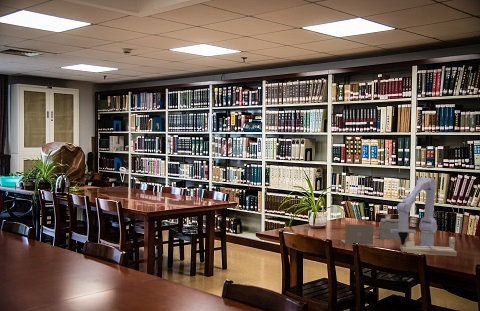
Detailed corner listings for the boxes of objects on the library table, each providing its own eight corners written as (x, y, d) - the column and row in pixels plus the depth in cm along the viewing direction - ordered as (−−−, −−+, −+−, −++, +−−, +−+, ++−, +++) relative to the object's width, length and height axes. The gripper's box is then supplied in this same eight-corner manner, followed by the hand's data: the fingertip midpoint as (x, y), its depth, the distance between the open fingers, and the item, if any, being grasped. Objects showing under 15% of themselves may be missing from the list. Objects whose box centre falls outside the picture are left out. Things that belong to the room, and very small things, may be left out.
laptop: (367, 241, 340) (367, 221, 340) (372, 245, 328) (373, 225, 328) (340, 240, 340) (341, 221, 339) (345, 244, 327) (345, 224, 327)
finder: (404, 245, 315) (404, 239, 315) (412, 245, 314) (412, 240, 314) (405, 246, 310) (406, 241, 310) (414, 247, 309) (414, 241, 309)
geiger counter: (407, 218, 351) (371, 217, 350) (410, 219, 344) (374, 219, 343) (406, 238, 351) (370, 238, 350) (410, 240, 345) (373, 239, 344)
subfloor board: (399, 249, 316) (400, 244, 315) (450, 251, 311) (450, 247, 311) (403, 253, 303) (403, 249, 303) (456, 256, 299) (456, 251, 298)
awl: (448, 249, 317) (448, 236, 316) (453, 249, 316) (454, 237, 316) (449, 250, 313) (449, 237, 313) (455, 251, 313) (455, 238, 313)
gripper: (392, 223, 309) (391, 245, 309) (416, 224, 307) (416, 246, 307) (390, 221, 316) (389, 243, 316) (414, 222, 314) (414, 244, 314)
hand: (402, 244), depth 312 cm, fingers closed
